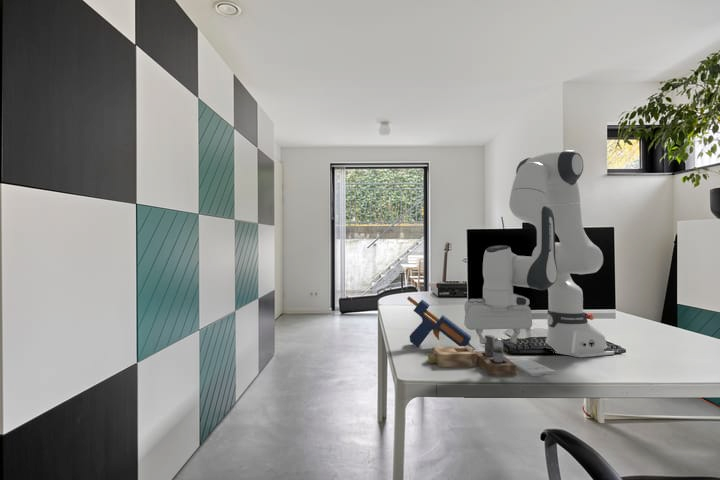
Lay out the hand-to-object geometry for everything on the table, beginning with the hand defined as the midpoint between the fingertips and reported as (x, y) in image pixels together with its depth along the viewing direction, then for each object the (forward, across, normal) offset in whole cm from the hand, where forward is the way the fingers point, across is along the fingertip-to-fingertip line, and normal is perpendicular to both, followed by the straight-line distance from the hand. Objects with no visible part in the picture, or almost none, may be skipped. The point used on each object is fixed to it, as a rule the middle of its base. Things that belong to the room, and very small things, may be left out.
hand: (497, 343), depth 125 cm
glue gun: (+9, -11, +28) cm, 31 cm away
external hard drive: (+9, +11, +2) cm, 15 cm away
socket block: (+9, -11, +10) cm, 17 cm away
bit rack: (+9, 0, +4) cm, 9 cm away
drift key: (+8, -15, +10) cm, 20 cm away
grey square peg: (+9, 0, 0) cm, 9 cm away
